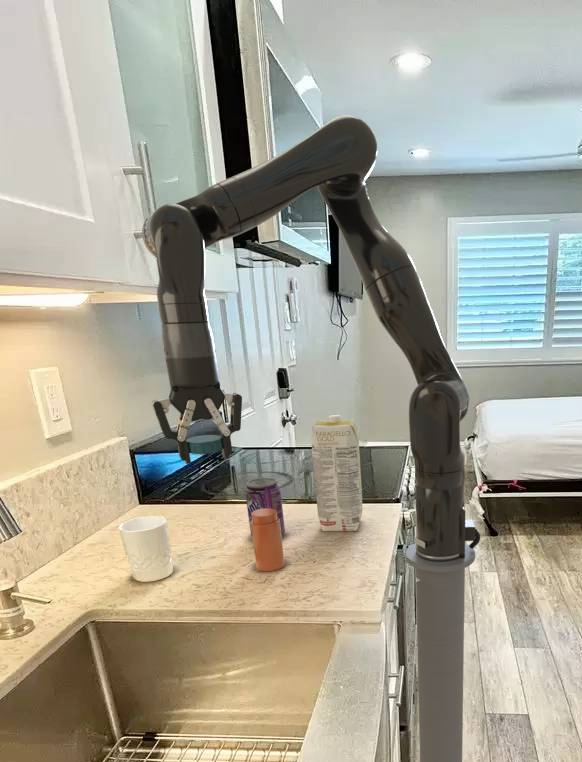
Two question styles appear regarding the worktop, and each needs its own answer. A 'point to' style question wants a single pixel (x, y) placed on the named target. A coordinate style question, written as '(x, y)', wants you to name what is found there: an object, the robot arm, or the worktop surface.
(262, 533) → the jam jar
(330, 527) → the juice carton
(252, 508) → the beverage can
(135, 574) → the white cup
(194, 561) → the worktop surface
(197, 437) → the jar lid
